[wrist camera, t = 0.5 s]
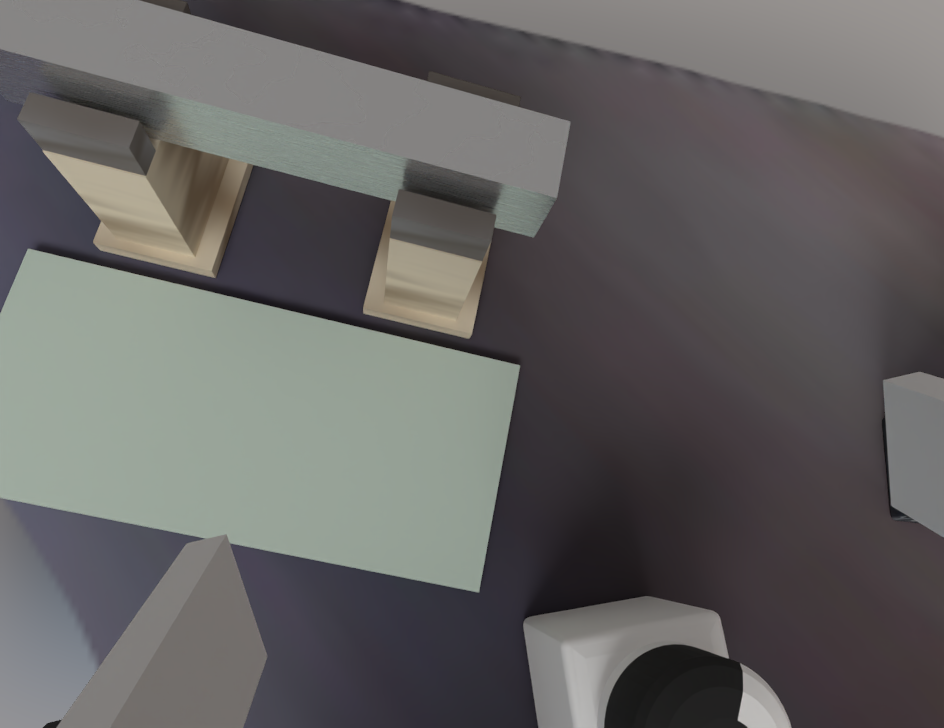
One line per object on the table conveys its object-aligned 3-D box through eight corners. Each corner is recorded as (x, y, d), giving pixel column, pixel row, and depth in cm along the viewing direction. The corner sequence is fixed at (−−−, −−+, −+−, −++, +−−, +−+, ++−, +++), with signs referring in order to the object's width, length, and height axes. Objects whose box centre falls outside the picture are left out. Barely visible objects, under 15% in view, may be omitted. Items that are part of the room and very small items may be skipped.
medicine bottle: (543, 772, 31) (648, 912, 20) (520, 617, 33) (604, 663, 21) (678, 741, 33) (850, 856, 21) (650, 594, 34) (795, 626, 23)
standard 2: (215, 278, 35) (151, 167, 24) (100, 250, 34) (-18, 124, 23) (258, 150, 37) (216, -2, 26) (150, 122, 36) (63, -45, 26)
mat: (476, 591, 33) (478, 592, 32) (-65, 484, 30) (-73, 483, 29) (517, 368, 36) (520, 365, 35) (33, 253, 33) (28, 248, 33)
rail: (546, 168, 29) (570, 121, 26) (533, 237, 28) (557, 198, 25) (39, 30, 27) (-6, -41, 23) (6, 100, 26) (-46, 36, 22)
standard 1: (469, 338, 36) (513, 259, 25) (363, 313, 35) (363, 221, 25) (495, 213, 38) (545, 92, 28) (395, 187, 38) (408, 53, 27)
